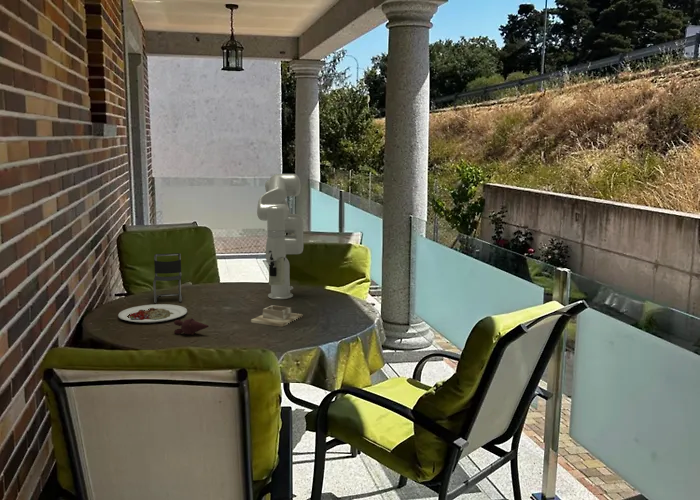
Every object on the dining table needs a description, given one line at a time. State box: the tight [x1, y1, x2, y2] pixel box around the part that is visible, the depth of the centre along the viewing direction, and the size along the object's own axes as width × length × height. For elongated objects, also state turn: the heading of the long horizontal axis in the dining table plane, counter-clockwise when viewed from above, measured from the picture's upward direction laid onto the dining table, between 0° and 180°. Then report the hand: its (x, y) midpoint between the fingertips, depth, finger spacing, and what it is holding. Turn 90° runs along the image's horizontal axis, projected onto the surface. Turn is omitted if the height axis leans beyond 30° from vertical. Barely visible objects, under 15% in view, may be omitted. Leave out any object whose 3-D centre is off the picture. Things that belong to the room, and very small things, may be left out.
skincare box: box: [268, 257, 285, 286], centre depth 289 cm, size 6×4×12 cm
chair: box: [152, 252, 183, 304], centre depth 327 cm, size 13×17×22 cm
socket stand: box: [250, 304, 304, 328], centre depth 293 cm, size 18×16×5 cm
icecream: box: [173, 317, 209, 336], centre depth 270 cm, size 7×8×15 cm
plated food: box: [117, 303, 188, 324], centre depth 298 cm, size 30×30×3 cm
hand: (276, 274), depth 290 cm, fingers closed on skincare box, 5 cm apart
